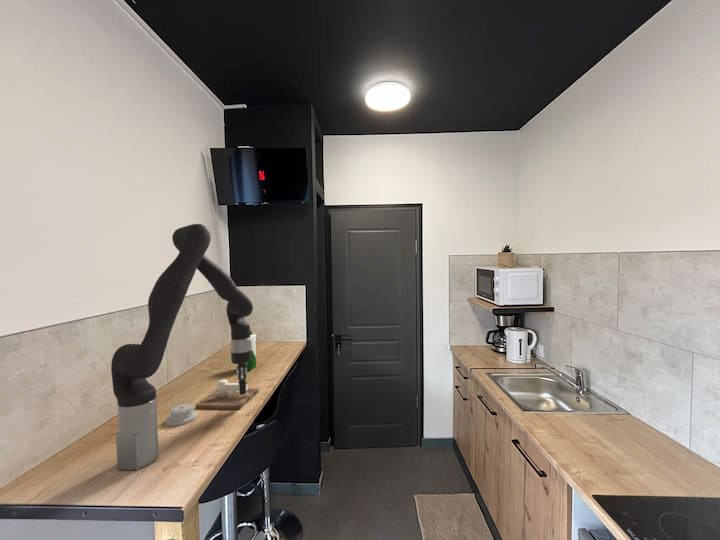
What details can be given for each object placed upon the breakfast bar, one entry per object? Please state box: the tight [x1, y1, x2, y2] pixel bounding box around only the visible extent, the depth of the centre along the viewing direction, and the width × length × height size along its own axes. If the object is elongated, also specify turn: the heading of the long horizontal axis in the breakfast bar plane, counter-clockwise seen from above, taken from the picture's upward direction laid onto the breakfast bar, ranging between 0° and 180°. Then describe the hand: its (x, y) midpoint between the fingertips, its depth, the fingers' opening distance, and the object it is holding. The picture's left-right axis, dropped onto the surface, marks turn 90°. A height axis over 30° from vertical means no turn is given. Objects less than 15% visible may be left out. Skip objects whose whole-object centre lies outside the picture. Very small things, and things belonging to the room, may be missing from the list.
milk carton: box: [237, 329, 257, 371], centre depth 182 cm, size 9×9×20 cm
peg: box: [216, 378, 249, 397], centre depth 140 cm, size 4×13×6 cm, turn 84°
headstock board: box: [195, 387, 260, 410], centre depth 141 cm, size 18×18×2 cm
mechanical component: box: [165, 403, 198, 427], centre depth 124 cm, size 10×4×10 cm
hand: (242, 393), depth 133 cm, fingers closed
